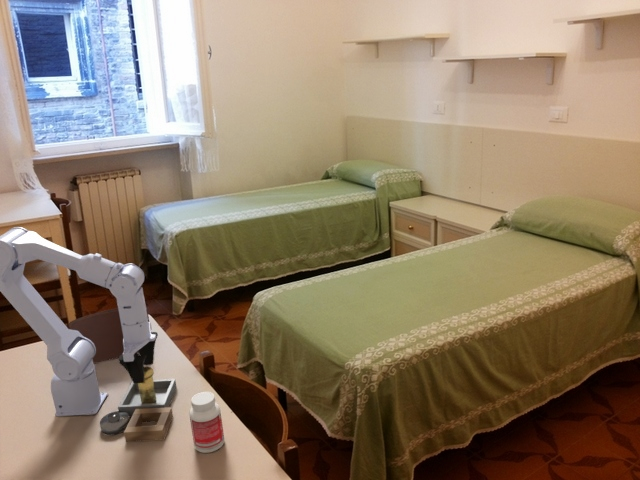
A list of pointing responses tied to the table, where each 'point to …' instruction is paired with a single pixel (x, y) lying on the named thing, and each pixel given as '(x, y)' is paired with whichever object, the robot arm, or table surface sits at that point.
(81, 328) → the letter holder
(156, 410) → the block
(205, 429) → the pill bottle
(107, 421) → the pulley
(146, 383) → the lock pin
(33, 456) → the table surface
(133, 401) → the tray
